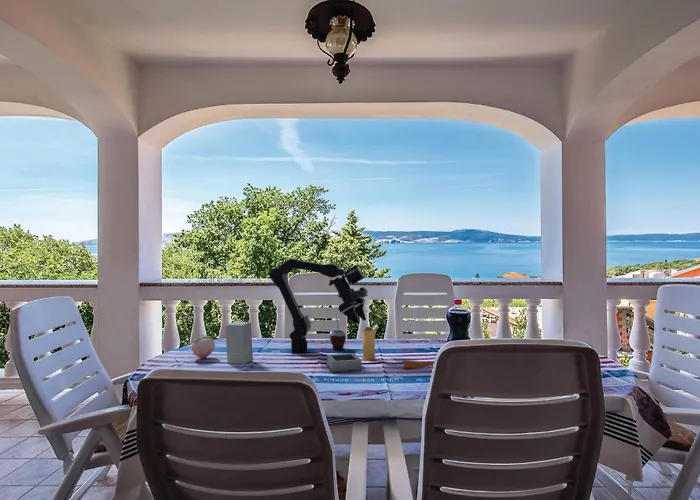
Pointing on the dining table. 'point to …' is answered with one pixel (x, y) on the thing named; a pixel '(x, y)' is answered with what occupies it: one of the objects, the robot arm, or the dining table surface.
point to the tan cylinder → (368, 344)
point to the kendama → (415, 364)
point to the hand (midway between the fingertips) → (361, 321)
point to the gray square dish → (344, 363)
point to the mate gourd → (337, 338)
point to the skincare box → (239, 342)
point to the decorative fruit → (203, 346)
